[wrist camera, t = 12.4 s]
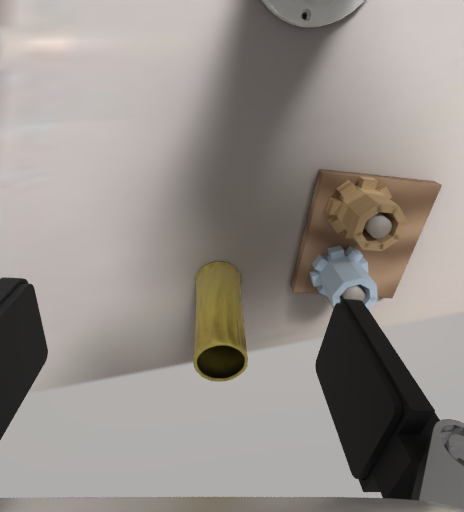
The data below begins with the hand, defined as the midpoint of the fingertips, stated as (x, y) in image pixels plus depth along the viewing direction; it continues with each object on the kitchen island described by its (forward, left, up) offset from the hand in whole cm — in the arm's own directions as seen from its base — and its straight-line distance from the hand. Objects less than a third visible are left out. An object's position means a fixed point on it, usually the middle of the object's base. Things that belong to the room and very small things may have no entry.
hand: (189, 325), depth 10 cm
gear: (+13, +18, -27) cm, 35 cm away
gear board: (+9, +20, -28) cm, 36 cm away
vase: (+17, +3, -28) cm, 33 cm away
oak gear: (+4, +18, -27) cm, 33 cm away
